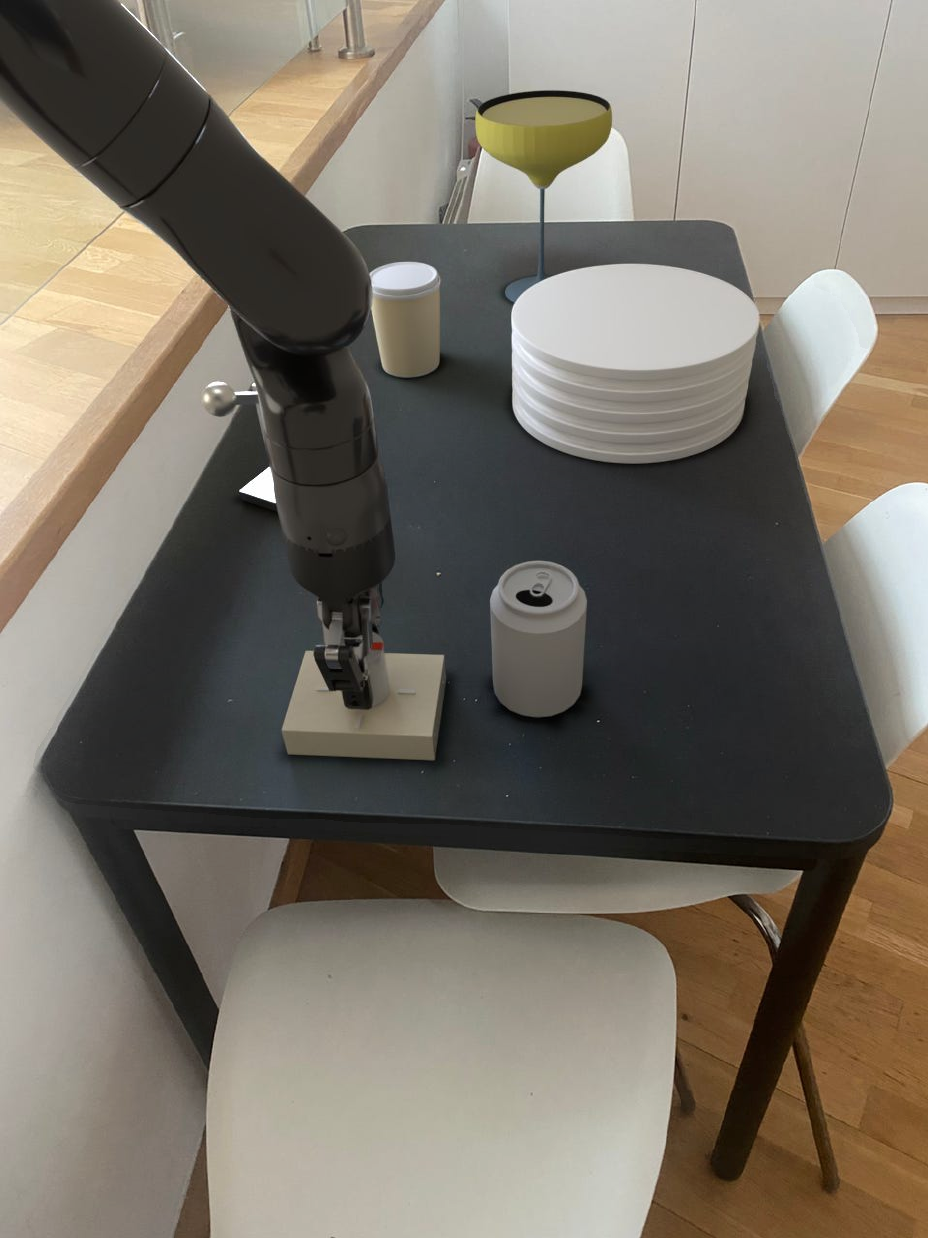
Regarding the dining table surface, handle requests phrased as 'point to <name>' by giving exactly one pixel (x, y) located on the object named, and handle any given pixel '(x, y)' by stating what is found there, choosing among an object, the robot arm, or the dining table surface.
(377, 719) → the panel
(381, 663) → the dial
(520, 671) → the can
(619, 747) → the dining table surface
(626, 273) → the plate stack
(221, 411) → the tap lever
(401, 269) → the coffee cup
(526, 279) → the cocktail glass
